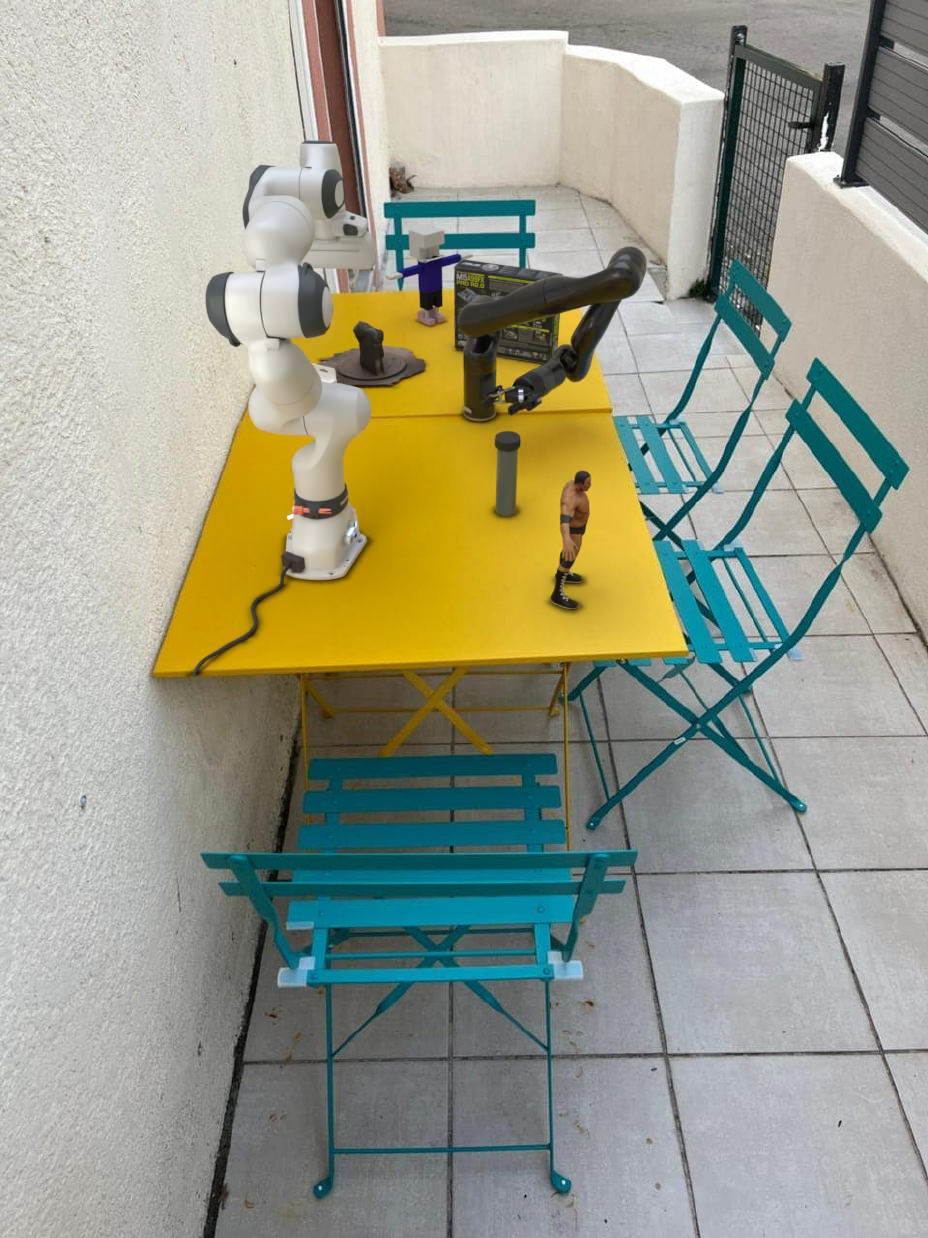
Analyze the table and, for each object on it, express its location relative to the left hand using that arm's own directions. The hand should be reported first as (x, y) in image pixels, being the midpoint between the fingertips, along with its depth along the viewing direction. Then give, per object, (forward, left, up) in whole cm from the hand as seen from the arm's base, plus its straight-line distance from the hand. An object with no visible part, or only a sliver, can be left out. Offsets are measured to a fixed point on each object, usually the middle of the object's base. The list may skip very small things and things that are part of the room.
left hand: (332, 287), depth 199 cm
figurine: (-46, -56, -48) cm, 87 cm away
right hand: (+4, -37, -30) cm, 48 cm away
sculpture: (+63, +6, -48) cm, 79 cm away
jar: (-15, -41, -48) cm, 65 cm away
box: (+77, -36, -48) cm, 98 cm away
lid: (-15, -41, -28) cm, 52 cm away
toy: (+102, -9, -48) cm, 114 cm away
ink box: (+29, +13, -48) cm, 58 cm away
